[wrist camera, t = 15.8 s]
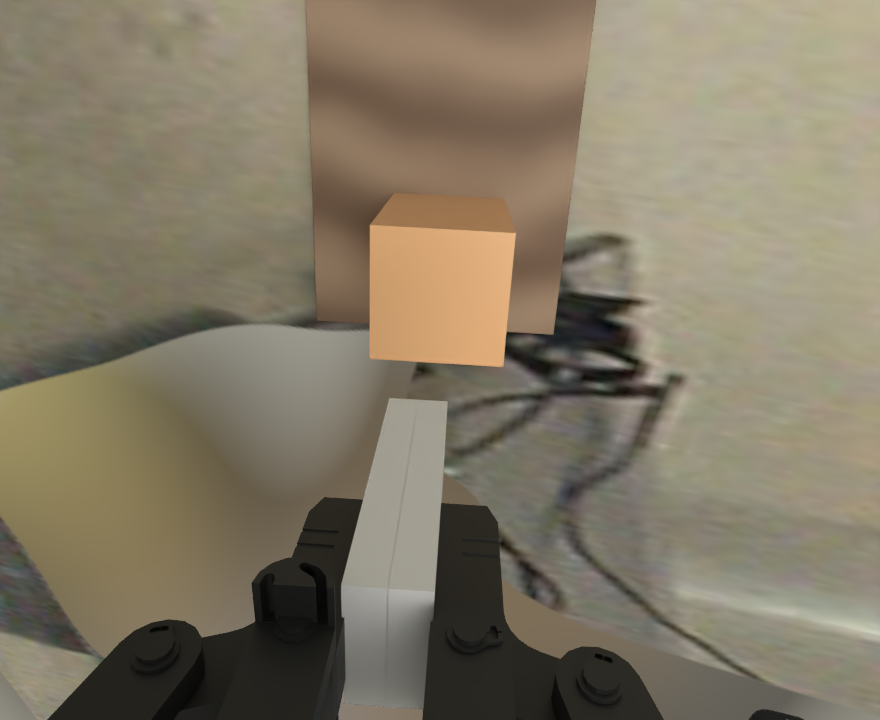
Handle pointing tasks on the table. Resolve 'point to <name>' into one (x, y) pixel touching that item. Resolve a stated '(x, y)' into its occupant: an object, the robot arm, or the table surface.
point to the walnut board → (445, 130)
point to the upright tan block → (440, 279)
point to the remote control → (772, 715)
